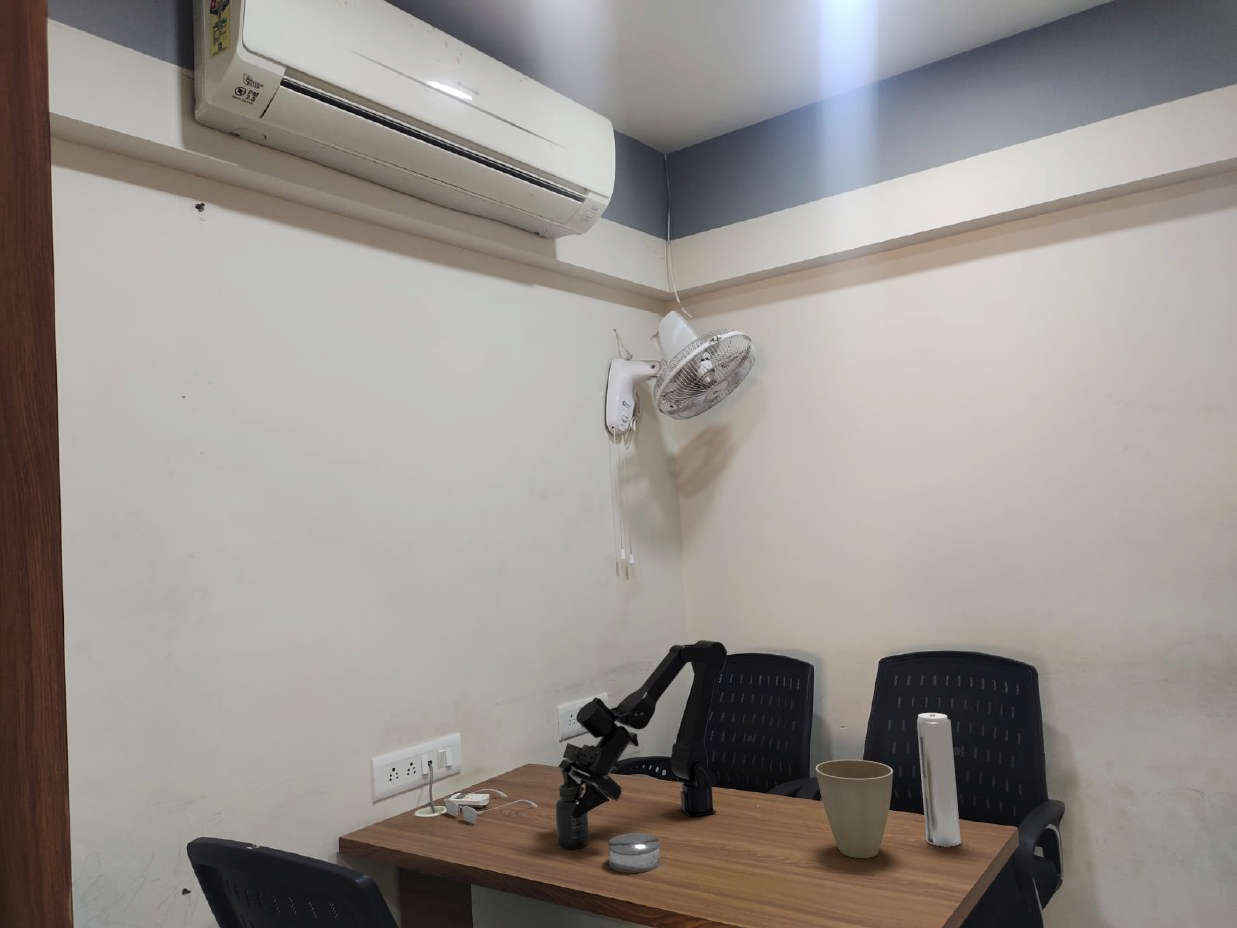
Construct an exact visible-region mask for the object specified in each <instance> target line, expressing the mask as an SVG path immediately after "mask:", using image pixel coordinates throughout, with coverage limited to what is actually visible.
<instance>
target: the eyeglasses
mask: <svg viewBox="0 0 1237 928" xmlns="http://www.w3.org/2000/svg"><path fill="white" fill-rule="evenodd" d="M482 791H493V792H496V793H497V794H499V795H500V797H501V798H506V797H508V795H506V794H505V793H504V792H502V791H499V790H496V789H492V788H491V789H490V788H484V789H480V790H476V791H473V792H469V793H465V794H462V795H458V796H455V797H452V798H445V799H443V802H444V805H445V809H446V812H447V815H450V816H453V817H455V818H457V817H458V814H459V813H461V812H460V811H462V816H463V819H464V821H465V822H467V823H469V824H470V823H471V824H472V825H475V823H476V821H477V816H478V815H482V814H483V813H484V812H488V811H490V810H495V809H498V808H502V807H505V806H508V805H512V804H516V803H518V802H526V803H528V804H529V805H530V806H531V807H532V808H533V809H534V808H538V804H536V803H535V802H532V801H530V800H526V799H518V800H515V801H513V802H510V803H507V804H503V805H501V806H497V807H494V808H493V807H492V808H490V809H487V810H480V811H476V809H475V808H473V807H470V806H468V805H467V806H466V805H463V806H461V805H458V803H457V802H456V801H453V800H454V799H456V798H459V797H462V796H467V795H470V794H473V793H477V792H482ZM461 809H462V810H461Z"/></svg>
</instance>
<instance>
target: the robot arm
mask: <svg viewBox="0 0 1237 928" xmlns="http://www.w3.org/2000/svg"><path fill="white" fill-rule="evenodd" d="M727 657H728V650H727V649H726V647H725V645H724V644H723V643H722V642H720V641H714V640H704V639H702V640H701V639H700V640H698V641H696V642H695V643H693V644H683V645H682V644H674V645H672V646H671V647H670V648H669V650H668V653H667V654H666V655H665V656H664V658H663V659H662V660H661V662H659V664H658V665H657V666H656V668H655V669H654V670H653V671H652V673H651V674H650V676H648V678H647V679H646V680H645V682H644V683H643V684H642V686H641V687H639V688H638V689H637V690H635V691H634V692H632V693H630V694H628V695H627V696H626V697H624V699H622V700H621V701H620V702H619V703H618V704H617V706H615V707H611V708H609V707H608V706H607V705H606V704H605V702H604V701H603V700H602V699H601V698H600V697H593V699H592V700H591V701H589V702H588V703H586V704H585V705H583V706H582V707H581V708H580V709H579V710H578V712H577V714H576V718H575V719H576V722H578V724H579V725H581V727H583V729H585V731H586V732H588V733H589V734H590V735H591V736H592V737H593V738H594V739H599V738H600V739H599V741H598V742H597V744H596V745H593V744H591V745H588V744H583V746H581V747H580V746H577V745H575V744H571V743H569V742H568V743H567V744H566V747H565V749H564V752H563V754H562V758H563V759H562V761H561V762H560V763H559V764H558V766H557V768H558V769H559V770H561V775H562V779H563V784H569V783H578V784H581V786H582V792H583V791H584V792H583V794H582V795H581V796H582V798H581V800H580V802H579V803H578V805H577V807H576V809H575V811H574V813H573V815H572V816H573V817H574V818H575V819H577V818H579V817H580V816H582V815H584V814H585V813H587V812H588V813H589V812H590V811H592V810H593V809H595V808H597V807H599V806H601V805H603V804H605V803H606V802H607V803H609V802H610V799H611V800H612V801H615V802H618V801H619V799H620V797H621V795H622V793H623V792H622V786H620V784H619V783H617V782H616V781H615V780H614V779H613V778H612V777H611V776H610V773H611V771H613V769H616V770H617V769H618V768H619V766H620V764H619V762H618V761H619V760H620V758H621V756H622V755H623V754H624V752H625V751H626V749H627V747H628V746H629V745H630V746H633V747H639V739H638V733H636V732H630V731H629V730H628V729H627V728H631V729H634V730H644V729H645V728H647V726H649V723H650V722H651V719H652V718H653V716H654V714H655V713H656V707H657V703H658V701H659V700H660V698H661V697H662V695H663V694H664V693H665V692H666V691H667V689H668V688H669V687H670V685H672V683H673V682H674V680H675V679H676V677H677V676H678V675H679V674H680V672H681V671H682V670H683V669H684V667H685V666H686V665H687V664H688V663H690V664H691V667H692V671H693V675H694V678H693V683H692V689H691V695H690V699H689V700H690V701H689V705H688V709H687V710H688V711H687V717H686V722H685V728H684V733H683V738H682V739H681V740H680V742H679V743H673V744H672V749H671V756H670V758H669V762H670V767H671V771H672V772H673V774H674V775H675V776H676V779H677V781H678V783H682V784H681V785H682V790H681V791H680V805H681V807H680V810H681V811H683V812H684V813H685V814H686V815H687V816H688V817H693V818H694V817H699V816H708V815H712V814H713V815H714V814H717V811H716V809H714V803H713V801H714V800H713V788H714V787H716V786H717V781H718V776H717V775H716V774H715V773H714V771H712V770H711V769H710V768H709V766H708V762H709V759H708V757H709V755H708V752H707V748H706V743H705V739H706V735H707V734H706V733H707V729H708V728H707V727H708V724H709V723H708V721H709V717H710V711H711V705H712V700H713V694H714V687H715V683H716V680H717V678H718V677H719V675H721V673H722V672H723V670H724V667H725V664H726V662H727ZM617 723H619V724H620V725H618V724H617ZM626 727H627V728H626ZM583 785H584V787H583ZM560 798H561V797H560V796H559V798H558V800H559V799H560Z"/></svg>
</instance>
